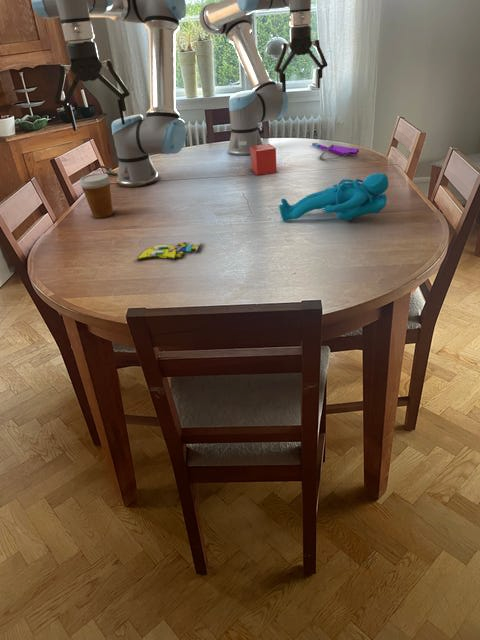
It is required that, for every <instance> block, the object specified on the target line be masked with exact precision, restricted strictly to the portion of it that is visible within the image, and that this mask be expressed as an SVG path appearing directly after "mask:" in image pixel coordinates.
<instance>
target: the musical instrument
mask: <svg viewBox="0 0 480 640" xmlns="http://www.w3.org/2000/svg"><path fill="white" fill-rule="evenodd" d="M311 145H312V147H316V148H319V149H323V150H324V151H323V152H322V153H321V154H320V155H319V159H320V160H338V159H341V158H344V157H346V156H349V155H351V156H353V155H357V154H358V153H359V152H360V149H359V148H355V147H349V146H341V145H337V144H336V145H335V144H330V145H329V146H326V145H322V144H320V143H318V142H313V143H311ZM327 151H328V152H331V153H335V154H338V155H340V156H339V157H332V158H331V157H330V158H328V157H326V158H325V157H324V158H323V156H324V155H325V153H327Z"/></svg>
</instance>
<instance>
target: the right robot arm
mask: <svg viewBox="0 0 480 640" xmlns="http://www.w3.org/2000/svg"><path fill="white" fill-rule="evenodd" d="M284 9H289V26H290V29H289V38H290V39H289V43H287V42H283V43H281V50H280V53H279V56H278V58H277V61H276V64H275V66H274V69H273V70H274V71H273V72H276V73H278V77H279V78H278V79H279V83H280V84H281V88H279V87H278V85H277V83H276V81H274V80H271V78H270V76H269V73H268V71H267V69H266V66H265V64H264V61H263V59H262V57H261V55H260V51H259V50H258V48H257V45H256V43H255V41H254V38H253V36H252V34H251V32H252V28H253V22H254V20H253V19H254V18H253V13H256V12H261V11H270V10H284ZM311 11H312V1H311V0H221V1H219V2H210V3H208V4H205V5H204V6H203V7H202V8H201V9H200V12H199V17H198V19H199V20H198V21H199V23H200V26H201V28H202V29H203V31H204V32H205V33H208V34H209V35H213V36H219V35H225V38H226V39H227V42H229V43H231V44H232V45H233V47H234V50H235V52H236V54H237V56H238V59H239V61H240V64H241V66H242V68H243V71H244V73H245V75H246V77H247V80H248V82H249V85H250V87H251V89H249V90H243V91H238V92H236V93H234V94H232V95H231V96H230V97H229V99H228V110H229V121H230V133H231V134H230V137H229V144H228V153H229V154H231V155H234V156H249V155H251V153H250V146H256V145H263V144H264V143H263V140H262V138H261V135H260V133H262V132H263V129H262V127H261V125H260V124H259V123H265V122H270V121H276V120H278V119H281V118H284V116H286V114H287V111H288V108H289V98H288V97H289V96H288V93H287V83H286V81H287V80H286V73H285V71H286V69H287V67H288V66H289V65H290V63H291V61H292V60H293V59H294V58H295V56H306V55H307V56H308V57H309V58H310V60H311V61H312V62H313V64H314V65H315V66H316V67H317V68H315V88H316V89H321V79H323V70H324V68H326V67H328V62H327V60H326V58H325V55H324V53H323V50H322V48H321V45H320V40H319V39H315V40H312V35H311V34H312V26H310V25H311V23H312V21H311V20H312V14H311ZM312 46H313V47H314V50H315V51H316V54H317V56H318V58H319V59H317V57H316V56H315V54H314V53H313V51H312V50H311V47H312ZM288 50H291V51H289V54H288V56H287V57H286V59H285V60H284V58H285V56H286V53H287V51H288ZM283 61H284V62H283Z"/></svg>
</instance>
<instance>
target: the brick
mask: <svg viewBox="0 0 480 640" xmlns="http://www.w3.org/2000/svg"><path fill="white" fill-rule="evenodd" d="M250 153H251V154H250V167H251V171H252V172H253V173H254V174H255V175H256V176H261V175H263V176H264V175H269V174H274V173H275V174H276V173H278V171H277V169H278V167H277V148H276V147H274V146H273V145H271V144H270V143H263V145H256V146H250Z"/></svg>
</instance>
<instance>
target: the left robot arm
mask: <svg viewBox="0 0 480 640" xmlns="http://www.w3.org/2000/svg"><path fill="white" fill-rule="evenodd" d="M30 2H31V6H32V9H33V11H34V12H35V14H36V15H37V16H38V17H40V18H41V19H50V20H52V19H58V18H59V19H60V25H61V29H62V33H63V37H64V41H65V42H67V44H66V50H67V54H68V58H69V65H65V64H60V65H59V69H58V70H59V79H58V85H57V89H56V94H55V100H54V103H55V104H56V105H59V106H62V108H63V110H64V115H65V117H66V119H70V121H71V125H72V130H73V132H76V131H77V130H78V128H77V123H76V119H75V115H74V112H73V108H72V104H71V103H70V104H69V102H70V101H71V100H70V99H71V98H72V96H73V95H74V92H75V90H76V88H77V86H78V85H79V82H80V81H81V82H83V83H85V82H88V81H91V82H93V81H94V82H95V81H96V80H99V81H100V82H101V83H102V84H104V85H105V86H106V87H107V88H108V89H109V90H110V91H111V92H113V94H114V95H116V97H118V98H116V100H117V106H118V111H119V115H120V118H118V119H115V120H113V121H112V122H111V132H112V133H111V135H112V138H113V142H114V146H115V151H116V156H117V160H118V167H117V168H118V170H117V172H111V171H112V168H111V167H108V166H104V165H96V166H95V167H94V169H93V170H94V171H97V170H98V169H105V170H107V171H106V173H105V174H107V175H108V176H117V179H116V180H117V183H118V186H120V187H123V188H124V187H125V188H136V187H137V188H138V187H145V186H147V185H148V186H149V185H151V184H154V183H156V182H157V181H158V180H159V176H158V172H157V169H156V168H155V166H154V163H153V161H152V159H151V156H150V155H173V154H174V155H175V154H178V153H180V152H181V151H182V149H183V148H184V146H185V143H186V139H187V127H186V124H185V121H184V120H183V119H181V118H180V116H181V115H180V113H179V112H178V111H177V109H176V33H177V32H178V31H179V30H180V21H183V20H184V19H185V18H186V14H187V6H186V0H30ZM91 18H109V19H110V20H112V21H115V22H126V23H134V24H144V27H145V29H146V30H147V31H148V41H149V42H148V43H149V48H148V49H149V94H150V95H149V97H150V100H149V102H150V108H149V109H148V110H147V111H146V113H145V115H146V117H145V119H144V116H143V114H140V113H138V114H133V115H128V116H124V112H126V111H127V106H126V101H125V99H126V98H127V97H129V96H130V91H129V89H128V88H127V86H126V85H125V83H124V82H123V80H122V79H121V77H120V76H119V74H118V73H117V72H116V70H115V69H114V66H113V63H112V61H111V60H110V59H107V60H103V61H101V60H100V58H99V57H100V56H99V54H98V53H99V52H98V48H97V43H96V42H95V41H94V39H95V34H94V29H93V24H92V20H91ZM103 67H104V68H105V70H109V73H110V74H111V76H112V77H113V78H114V80H115V81H116V83H117V85H118V86H119V87H120V89H121V90H122V92H121V91H120V90H119V89H118V88H117V87H116V86H115V85H113V83H111V82H110V81H109V80H108V79H107V78H106V77H105V76H104V75H103V74H102V73H101V71H102V68H103ZM69 71H71V73H72V74H74V78H73V80H72V83H71V85H70V87H69V88H68V91H67V93H66V94H65V97H64V99H62V95H63V90H64V85H65V81H66V75H68V74H69Z"/></svg>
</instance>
